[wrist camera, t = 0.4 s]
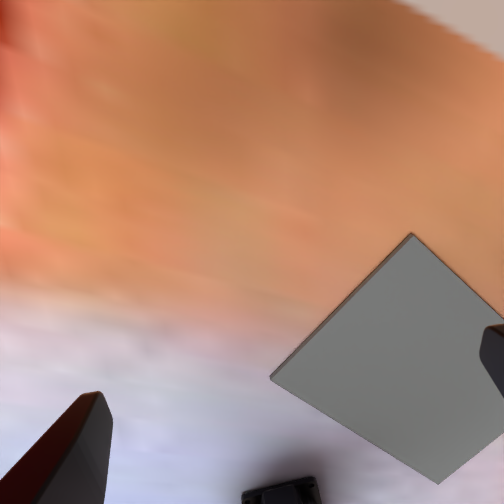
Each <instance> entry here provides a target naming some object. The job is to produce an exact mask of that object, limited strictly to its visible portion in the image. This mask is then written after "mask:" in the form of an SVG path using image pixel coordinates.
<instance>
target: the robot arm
mask: <svg viewBox="0 0 504 504" xmlns="http://www.w3.org/2000/svg"><path fill="white" fill-rule="evenodd" d="M479 357H480V360H481V363H482V364H483V366H484V368H485V369H486V371H487V372H488V374H489V376H490V377H491V379H492V381H493V382H494V384H495V385H496V387H497V389H498V390H499V392H500V393H501V395H502V397H503V398H504V324H496V325H490V326H487V327H486V328H485V329H484V331H483V335H482V340H481V345H480V349H479ZM112 430H113V418H112V415H111V412H110V410H109V407H108V405H107V402H106V400H105V397H104V395H103V393H102V392H100V391H95V392H89V393H84V394H82V395H80V396H79V397H78V398H77V399H76V400H75V401H74V402H73V403H72V404H71V406H70V407H69V408H68V409H67V410H66V411H65V412H64V413H63V414H62V415H61V416H60V417H59V418H58V419H57V420H56V421H55V423H54V424H53V425H52V426H51V427H50V428H49V429H48V430H47V431H46V432H45V433H44V434H43V435H42V436H41V437H40V438H39V439H38V441H37V442H36V443H35V444H34V445H33V446H32V447H31V448H30V449H29V450H28V451H27V452H26V453H25V454H24V455H23V456H22V458H21V459H20V460H19V461H18V462H17V463H16V464H15V465H14V466H13V467H12V468H11V469H10V470H9V471H8V472H7V473H6V474H5V476H4V477H3V478H2V479H1V480H0V504H104V498H105V491H106V484H107V475H108V466H109V457H110V448H111V439H112ZM241 501H242V504H322V502H321V498H320V494H319V490H318V485H317V482H316V479H315V478H314V477H308V478H304V479H300V480H296V481H292V482H289V483H285V484H281V485H277V486H273V487H269V488H265V489H262V490H258V491H254V492H250V493H246V494H244V495H242V497H241Z"/></svg>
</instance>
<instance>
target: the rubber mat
mask: <svg viewBox="0 0 504 504" xmlns="http://www.w3.org/2000/svg"><path fill="white" fill-rule="evenodd" d="M496 324H504V320H503V319H502V318H501V317H500V316H499V315H498V314H497V313H496V312H495V311H494V310H493V309H492V308H491V307H490V306H488V305H487V304H486V303H485V302H484V301H483V300H482V299H481V298H480V297H479V296H478V295H477V294H476V293H475V292H473V291H472V290H471V289H470V288H469V287H468V286H467V285H466V284H465V283H464V282H463V281H462V280H461V279H460V278H459V277H457V276H456V275H455V274H454V273H453V272H452V271H451V270H450V269H449V268H448V267H447V266H446V265H445V264H444V263H442V262H441V261H440V260H439V259H438V258H437V257H436V256H435V255H434V254H433V253H432V252H431V251H430V250H429V249H428V248H426V247H425V246H424V245H423V244H422V243H421V242H420V241H419V240H418V239H417V238H416V237H415V236H414V235H412V234H410V235H409V236H408V237H407V238H406V239H405V240H404V241H403V242H402V243H401V244H400V245H399V246H398V247H397V248H396V249H395V250H394V251H393V252H392V253H391V254H390V255H389V256H388V257H387V258H386V259H385V260H384V261H383V262H382V263H381V264H380V265H379V266H378V267H377V268H376V269H375V270H374V271H373V272H372V273H371V274H370V275H369V276H368V277H367V278H366V279H365V280H364V281H363V282H362V283H361V284H360V285H359V286H358V287H357V288H356V289H355V290H354V291H353V293H352V294H351V295H350V296H349V297H348V298H347V299H346V300H345V301H344V302H343V303H342V304H341V305H340V306H339V307H338V308H337V309H336V310H335V311H334V312H333V313H332V314H331V315H330V316H329V317H328V318H327V319H326V320H325V321H324V322H323V323H322V324H321V325H320V326H319V327H318V328H317V329H316V330H315V331H314V332H313V333H312V334H311V335H310V336H309V337H308V338H307V339H306V340H305V341H304V342H303V343H302V344H301V345H300V346H299V347H298V348H297V349H296V350H295V351H294V352H293V353H292V354H291V356H290V357H289V358H288V359H287V360H286V361H285V362H284V363H283V364H282V365H281V366H280V367H279V368H278V369H277V370H276V371H275V372H274V373H273V374H272V375H271V376H270V380H271V381H272V382H274V383H276V384H277V385H279V386H281V387H282V388H284V389H285V390H287V391H289V392H290V393H292V394H293V395H295V396H297V397H298V398H300V399H301V400H303V401H305V402H306V403H308V404H309V405H311V406H313V407H314V408H316V409H317V410H319V411H321V412H322V413H324V414H326V415H327V416H329V417H330V418H332V419H334V420H335V421H337V422H338V423H340V424H342V425H343V426H345V427H346V428H348V429H350V430H351V431H353V432H354V433H356V434H358V435H359V436H361V437H363V438H364V439H366V440H367V441H369V442H371V443H372V444H374V445H375V446H377V447H379V448H380V449H382V450H383V451H385V452H387V453H388V454H390V455H391V456H393V457H395V458H396V459H398V460H399V461H401V462H403V463H404V464H406V465H408V466H409V467H411V468H412V469H414V470H416V471H417V472H419V473H420V474H422V475H424V476H425V477H427V478H428V479H430V480H432V481H433V482H435V483H436V484H438V485H439V484H440V483H441V482H442V481H444V480H445V479H446V478H447V477H449V476H450V475H451V474H452V473H454V472H455V471H456V470H457V469H459V468H460V467H461V466H462V465H464V464H465V463H466V462H467V461H469V460H470V459H471V458H472V457H474V456H475V455H476V454H477V453H479V452H480V451H481V450H483V449H484V448H485V447H486V446H488V445H489V444H490V443H491V442H493V441H494V440H495V439H496V438H498V437H499V436H500V435H501V434H503V433H504V398H503V397H502V395H501V393H500V392H499V390H498V389H497V387H496V385H495V384H494V382H493V381H492V379H491V377H490V376H489V374H488V372H487V371H486V369H485V368H484V366H483V364H482V363H481V360H480V357H479V349H480V345H481V340H482V335H483V331H484V329H485V328H486V327H487V326H490V325H496Z"/></svg>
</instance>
